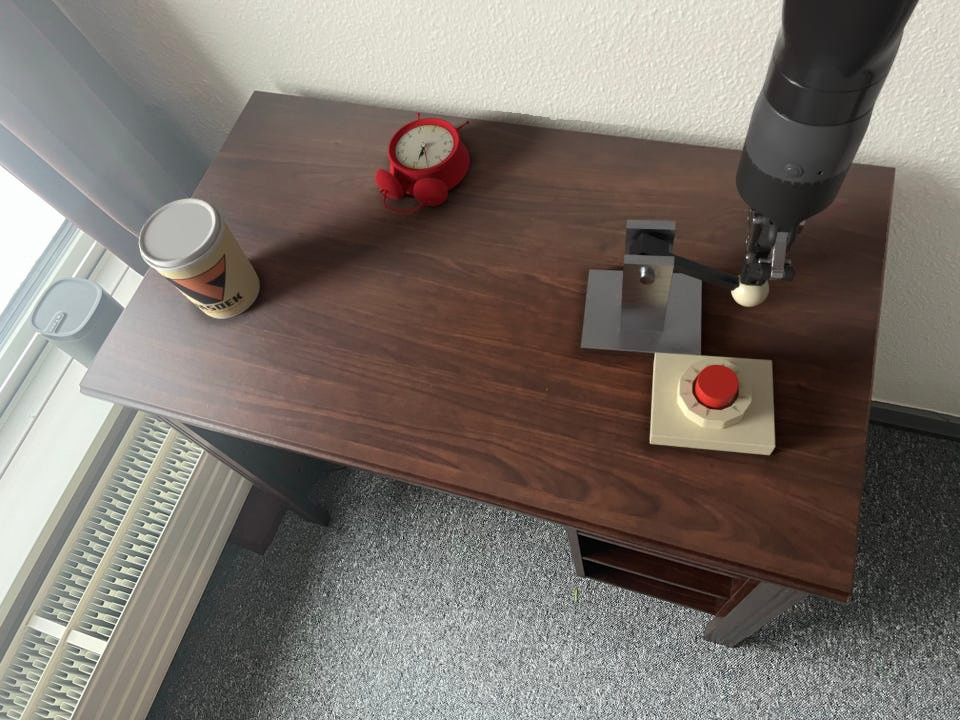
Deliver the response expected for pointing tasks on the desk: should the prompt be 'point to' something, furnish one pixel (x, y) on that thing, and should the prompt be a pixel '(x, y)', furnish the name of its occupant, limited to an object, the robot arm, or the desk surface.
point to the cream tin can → (200, 257)
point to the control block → (712, 428)
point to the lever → (702, 271)
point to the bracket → (643, 303)
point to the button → (716, 386)
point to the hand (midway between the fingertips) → (751, 278)
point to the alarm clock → (424, 162)
